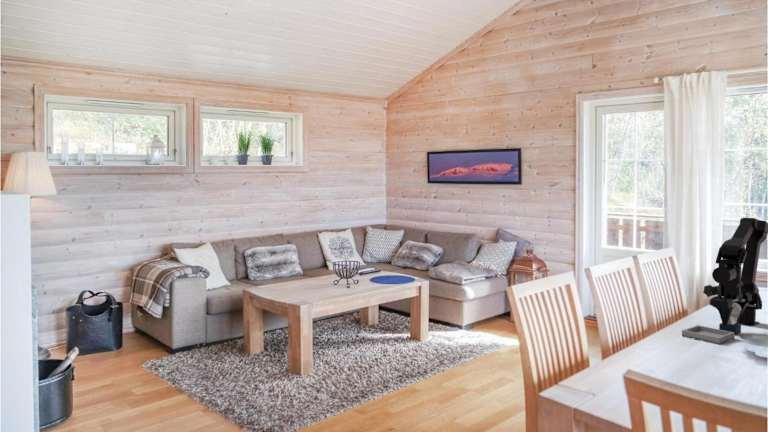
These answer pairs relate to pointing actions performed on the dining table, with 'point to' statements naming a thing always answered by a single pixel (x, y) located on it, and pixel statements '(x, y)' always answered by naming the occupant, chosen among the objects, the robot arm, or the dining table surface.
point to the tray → (708, 334)
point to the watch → (732, 321)
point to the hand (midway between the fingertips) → (730, 322)
